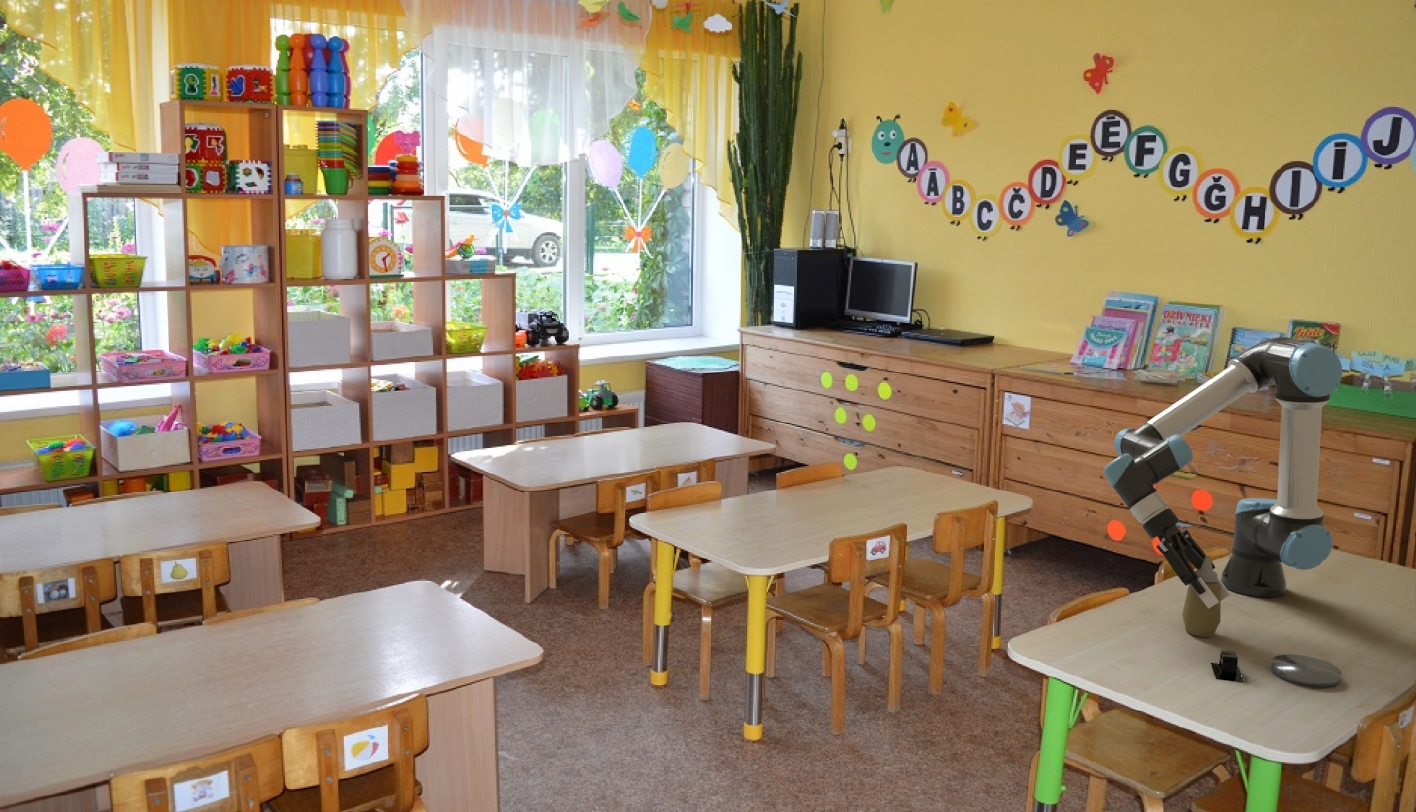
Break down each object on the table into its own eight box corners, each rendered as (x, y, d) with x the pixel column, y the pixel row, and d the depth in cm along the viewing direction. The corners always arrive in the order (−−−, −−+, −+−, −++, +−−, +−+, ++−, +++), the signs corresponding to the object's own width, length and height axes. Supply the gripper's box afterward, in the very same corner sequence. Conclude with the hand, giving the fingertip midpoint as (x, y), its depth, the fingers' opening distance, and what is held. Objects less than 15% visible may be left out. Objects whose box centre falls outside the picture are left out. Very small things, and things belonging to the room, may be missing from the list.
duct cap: (1289, 658, 260) (1291, 649, 259) (1351, 679, 250) (1353, 670, 249) (1258, 672, 252) (1260, 662, 251) (1321, 693, 242) (1322, 684, 241)
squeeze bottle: (1212, 628, 277) (1221, 552, 274) (1223, 640, 269) (1232, 563, 266) (1176, 625, 278) (1184, 550, 274) (1186, 638, 270) (1194, 561, 266)
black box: (1205, 661, 258) (1207, 641, 257) (1242, 666, 256) (1244, 645, 255) (1212, 683, 246) (1214, 662, 245) (1250, 689, 244) (1253, 667, 244)
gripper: (1159, 517, 286) (1221, 599, 279) (1125, 532, 272) (1190, 620, 264) (1183, 499, 282) (1248, 583, 274) (1150, 514, 268) (1217, 603, 260)
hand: (1219, 601), depth 269 cm, fingers closed on squeeze bottle, 6 cm apart
